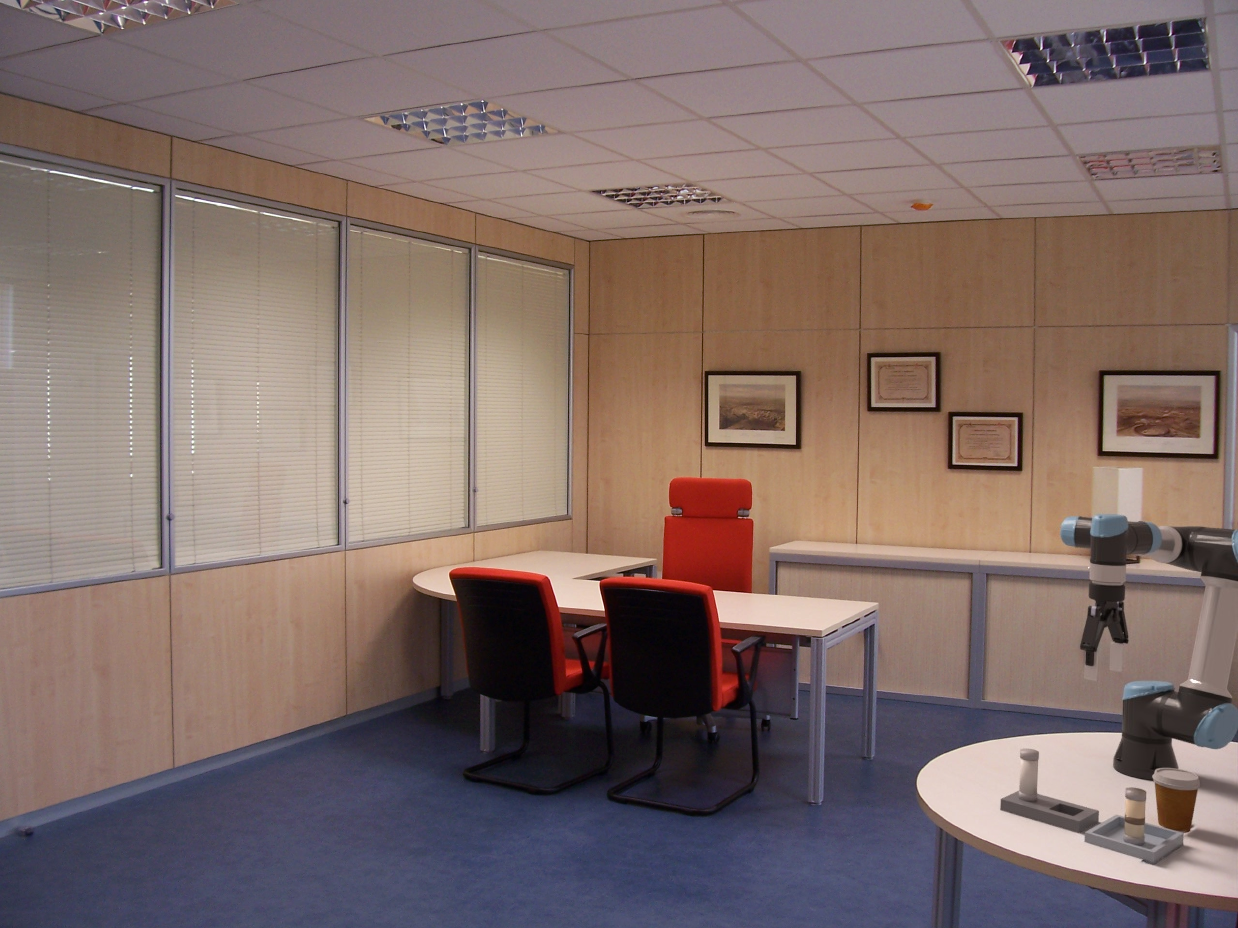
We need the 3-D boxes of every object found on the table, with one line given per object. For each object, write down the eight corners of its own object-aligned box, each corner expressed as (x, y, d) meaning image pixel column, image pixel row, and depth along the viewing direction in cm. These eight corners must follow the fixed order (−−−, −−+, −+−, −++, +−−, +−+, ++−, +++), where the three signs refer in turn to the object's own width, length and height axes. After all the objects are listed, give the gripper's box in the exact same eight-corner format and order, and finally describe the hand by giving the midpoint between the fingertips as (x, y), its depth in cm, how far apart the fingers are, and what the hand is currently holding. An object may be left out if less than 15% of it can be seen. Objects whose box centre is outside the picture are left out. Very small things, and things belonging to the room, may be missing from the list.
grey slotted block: (1021, 801, 253) (1023, 742, 252) (1098, 823, 240) (1100, 761, 239) (1000, 811, 246) (1002, 751, 245) (1078, 834, 233) (1080, 770, 232)
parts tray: (1115, 825, 239) (1116, 814, 239) (1183, 844, 229) (1183, 832, 228) (1084, 843, 228) (1084, 832, 228) (1153, 864, 218) (1153, 852, 218)
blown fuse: (1128, 836, 231) (1130, 785, 231) (1147, 842, 228) (1149, 790, 228) (1120, 841, 228) (1122, 789, 228) (1139, 846, 225) (1141, 795, 225)
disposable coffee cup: (1197, 839, 232) (1199, 783, 231) (1148, 829, 237) (1150, 775, 236) (1200, 825, 240) (1202, 772, 239) (1152, 816, 245) (1154, 764, 244)
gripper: (1113, 575, 256) (1109, 664, 257) (1066, 585, 239) (1062, 680, 240) (1146, 579, 250) (1142, 670, 251) (1100, 589, 233) (1096, 686, 234)
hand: (1103, 675), depth 245 cm, fingers open, 13 cm apart
